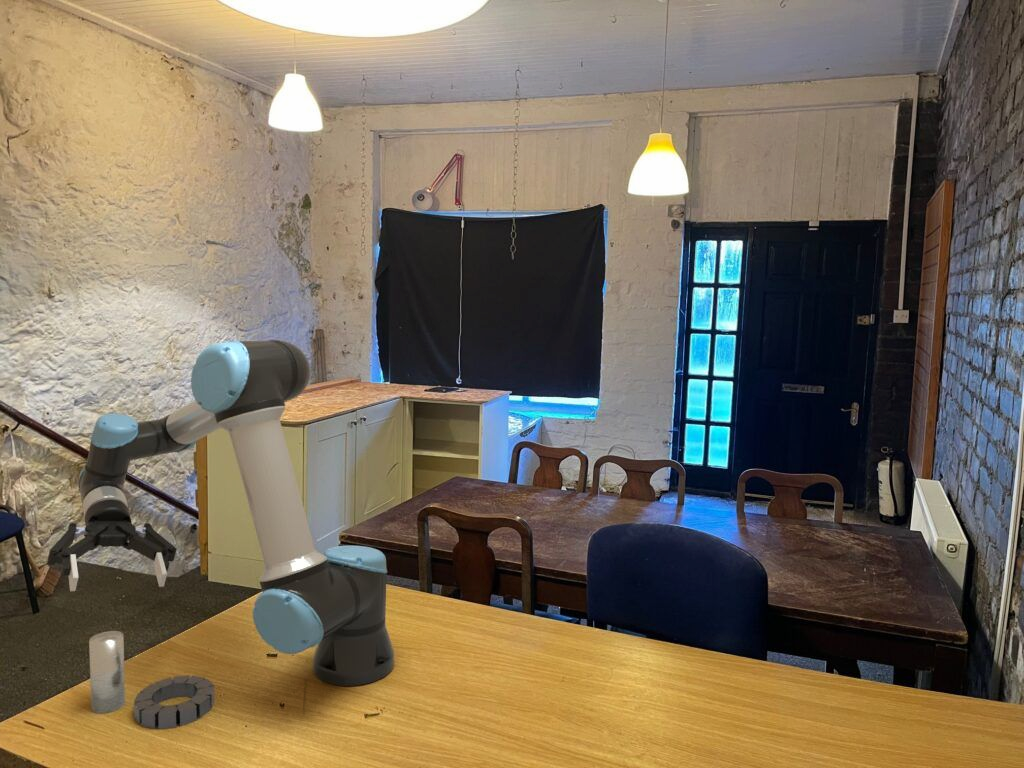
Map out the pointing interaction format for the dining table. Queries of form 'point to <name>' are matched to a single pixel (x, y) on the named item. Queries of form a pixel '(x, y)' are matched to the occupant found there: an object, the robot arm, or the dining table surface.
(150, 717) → the ring
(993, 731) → the dining table surface
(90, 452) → the robot arm
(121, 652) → the cylinder
